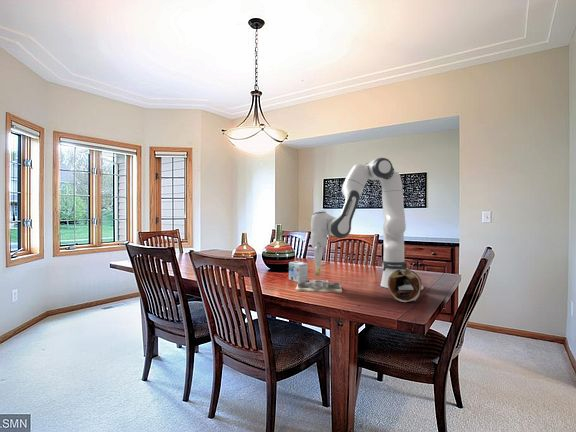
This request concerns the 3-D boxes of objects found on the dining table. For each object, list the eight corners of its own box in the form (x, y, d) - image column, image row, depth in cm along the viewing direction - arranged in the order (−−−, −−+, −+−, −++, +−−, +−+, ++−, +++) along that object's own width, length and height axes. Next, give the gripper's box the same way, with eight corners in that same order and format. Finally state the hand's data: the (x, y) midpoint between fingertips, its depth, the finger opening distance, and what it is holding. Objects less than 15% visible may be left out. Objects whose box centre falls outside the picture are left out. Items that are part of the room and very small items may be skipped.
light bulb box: (288, 279, 206) (288, 261, 206) (297, 278, 210) (297, 260, 210) (299, 282, 197) (299, 264, 197) (308, 281, 201) (308, 263, 201)
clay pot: (420, 268, 178) (419, 267, 155) (423, 298, 175) (423, 301, 152) (390, 270, 184) (385, 269, 161) (394, 299, 180) (389, 302, 158)
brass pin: (320, 274, 183) (321, 256, 183) (320, 275, 180) (321, 257, 180) (315, 274, 184) (315, 256, 184) (314, 275, 181) (315, 256, 181)
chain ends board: (341, 287, 187) (341, 279, 187) (341, 292, 175) (341, 284, 175) (297, 285, 190) (297, 278, 190) (295, 290, 178) (295, 283, 178)
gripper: (324, 244, 171) (323, 271, 171) (325, 240, 191) (324, 264, 192) (311, 243, 172) (311, 270, 172) (313, 239, 192) (313, 264, 192)
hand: (318, 267), depth 182 cm, fingers closed on brass pin, 3 cm apart
